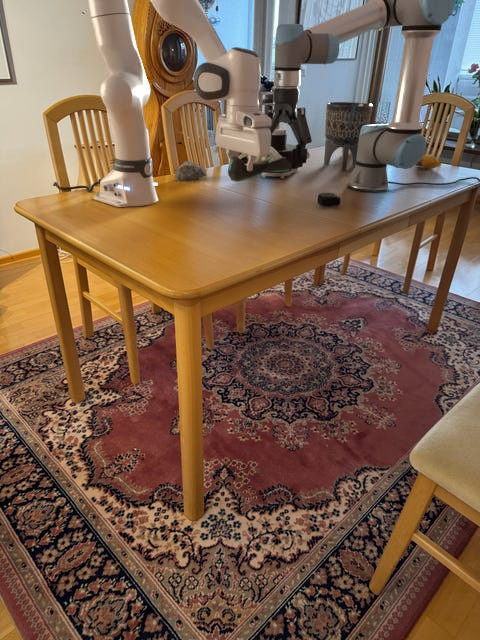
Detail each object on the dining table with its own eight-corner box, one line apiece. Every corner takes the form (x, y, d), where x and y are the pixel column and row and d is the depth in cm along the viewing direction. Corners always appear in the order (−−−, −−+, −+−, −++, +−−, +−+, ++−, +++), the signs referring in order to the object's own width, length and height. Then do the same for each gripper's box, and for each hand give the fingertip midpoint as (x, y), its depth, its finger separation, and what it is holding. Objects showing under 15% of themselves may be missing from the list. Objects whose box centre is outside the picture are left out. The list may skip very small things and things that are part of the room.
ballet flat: (298, 171, 142) (300, 143, 138) (242, 185, 128) (242, 154, 124) (279, 167, 147) (280, 140, 143) (223, 180, 133) (222, 150, 129)
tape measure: (320, 209, 151) (321, 197, 149) (314, 203, 157) (315, 192, 155) (339, 208, 152) (341, 197, 150) (333, 202, 158) (334, 191, 156)
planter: (313, 167, 208) (319, 103, 195) (331, 160, 222) (338, 101, 209) (353, 173, 199) (362, 107, 185) (369, 166, 213) (379, 104, 199)
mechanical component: (240, 120, 182) (283, 115, 202) (239, 174, 192) (280, 164, 212) (283, 126, 170) (325, 120, 190) (280, 183, 180) (320, 171, 200)
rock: (199, 174, 190) (198, 158, 187) (211, 178, 185) (211, 162, 181) (172, 179, 183) (171, 162, 179) (184, 183, 177) (183, 166, 174)
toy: (415, 162, 205) (409, 155, 218) (417, 175, 208) (411, 168, 221) (441, 154, 202) (433, 147, 215) (443, 168, 205) (435, 160, 218)
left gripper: (210, 112, 130) (210, 162, 137) (258, 121, 117) (255, 176, 124) (227, 111, 133) (226, 160, 140) (276, 120, 120) (272, 173, 127)
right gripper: (248, 85, 137) (247, 158, 148) (310, 90, 121) (304, 172, 132) (266, 84, 141) (263, 156, 152) (328, 89, 125) (321, 168, 136)
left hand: (240, 168), depth 132 cm, fingers closed on ballet flat, 6 cm apart
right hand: (282, 163), depth 142 cm, fingers open, 13 cm apart
